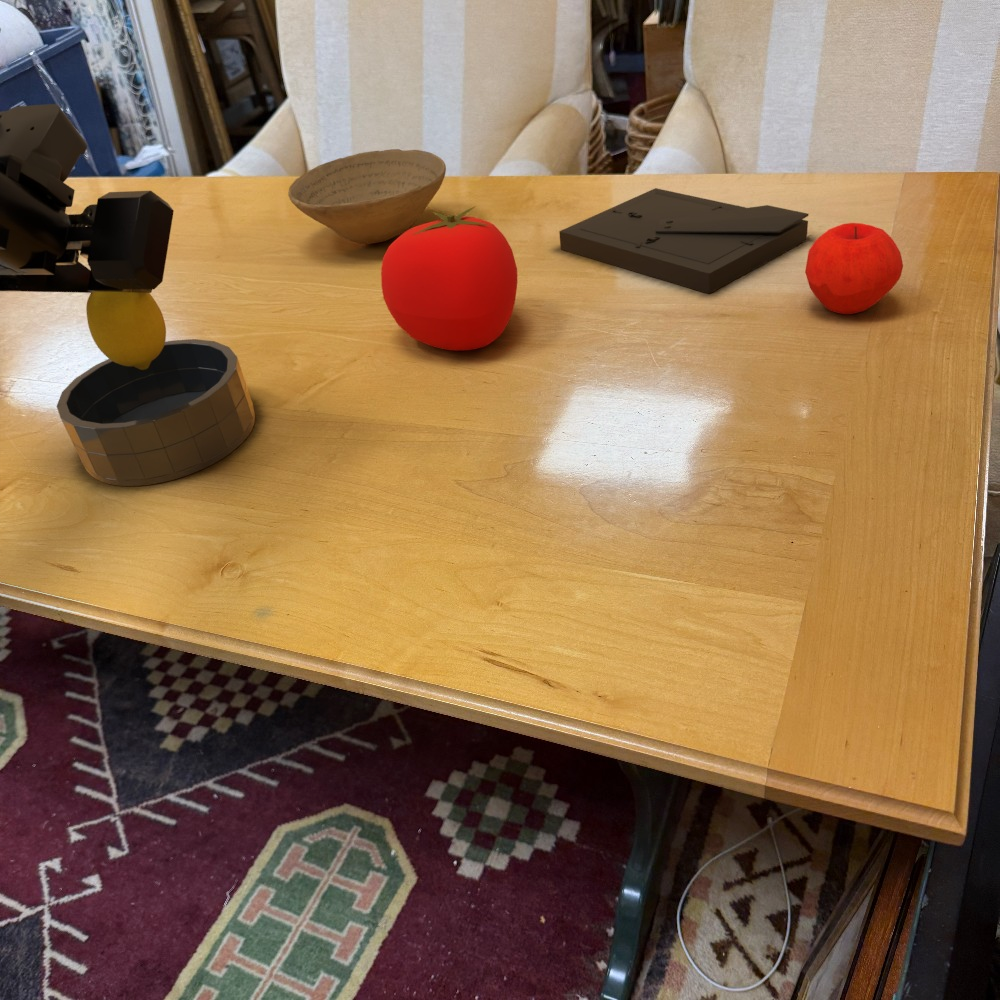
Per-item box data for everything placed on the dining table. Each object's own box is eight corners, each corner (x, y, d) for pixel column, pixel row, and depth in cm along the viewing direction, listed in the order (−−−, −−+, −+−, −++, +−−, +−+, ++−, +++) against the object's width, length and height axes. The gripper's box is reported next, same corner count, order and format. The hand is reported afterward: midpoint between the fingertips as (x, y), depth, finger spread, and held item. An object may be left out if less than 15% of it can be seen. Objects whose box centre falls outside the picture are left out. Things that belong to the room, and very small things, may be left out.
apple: (915, 306, 80) (928, 225, 76) (851, 336, 78) (861, 253, 73) (844, 280, 86) (853, 203, 82) (782, 307, 83) (788, 228, 79)
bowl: (353, 282, 101) (337, 211, 96) (278, 246, 113) (260, 182, 108) (484, 229, 109) (474, 162, 104) (400, 201, 121) (388, 140, 117)
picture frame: (806, 240, 95) (655, 205, 109) (808, 213, 93) (655, 181, 107) (709, 294, 88) (560, 249, 101) (709, 266, 86) (558, 224, 99)
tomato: (428, 385, 80) (404, 261, 73) (378, 329, 90) (352, 216, 84) (552, 343, 83) (539, 221, 77) (490, 294, 94) (474, 183, 87)
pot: (70, 502, 72) (40, 444, 69) (98, 412, 84) (74, 359, 80) (254, 462, 73) (233, 404, 70) (256, 380, 85) (239, 326, 82)
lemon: (170, 346, 77) (136, 256, 72) (186, 369, 73) (151, 275, 68) (104, 368, 75) (65, 276, 70) (117, 393, 71) (77, 297, 66)
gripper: (103, 61, 55) (244, 185, 70) (-131, 82, 60) (46, 193, 75) (72, 237, 53) (223, 325, 68) (-165, 242, 59) (23, 323, 74)
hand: (125, 286), depth 71 cm, fingers closed on lemon, 4 cm apart
